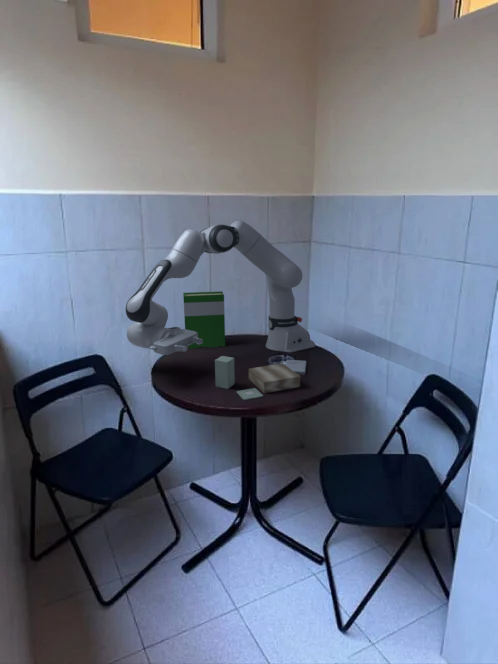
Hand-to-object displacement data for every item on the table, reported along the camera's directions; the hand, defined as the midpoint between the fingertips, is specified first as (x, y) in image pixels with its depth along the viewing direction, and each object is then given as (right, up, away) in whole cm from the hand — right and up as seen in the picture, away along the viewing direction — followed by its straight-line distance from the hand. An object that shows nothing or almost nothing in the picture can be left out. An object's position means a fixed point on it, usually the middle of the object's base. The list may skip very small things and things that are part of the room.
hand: (194, 345), depth 162 cm
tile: (+20, -16, -10) cm, 28 cm away
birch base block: (+29, -14, 0) cm, 32 cm away
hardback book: (0, -1, +43) cm, 43 cm away
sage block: (+11, -14, -2) cm, 18 cm away
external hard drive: (+38, -10, +14) cm, 42 cm away
